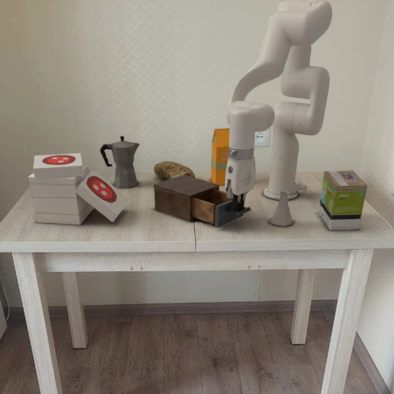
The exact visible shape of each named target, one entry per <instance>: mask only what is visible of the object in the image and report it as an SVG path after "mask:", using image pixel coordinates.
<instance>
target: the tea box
mask: <svg viewBox="0 0 394 394" xmlns="http://www.w3.org/2000/svg"><path fill="white" fill-rule="evenodd" d="M321 184H322V185H321V192H320V198H319V204H318V205H319V206H318V212H317V213H318V214H319V216H320V217H321V220H323V222H324V224H325V225H326V226H327V228H328V230H329V231H348V230H349V231H351V230H359V229H360V225H361V218H362V214H363V209H364V204H365V200H366V199H365V198H366V194H367V190H368V184H366V182H365V181H363V179H361V177H360V176H359V175H358V174H357V173H356V172H355V171H354V170H327V171H323V178H322V183H321Z"/></svg>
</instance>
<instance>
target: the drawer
mask: <svg viewBox="0 0 394 394" xmlns="http://www.w3.org/2000/svg"><path fill="white" fill-rule="evenodd" d="M245 202H246V199H245V200H244V205H245ZM251 211H252V208H251V207H250V206H247V207H246V206H244V209H243V210H241V211H239V212H236V211H233V201H232V199H230V198H227V192H226V191H223V190H220V189H219V190H217V189H214V190H211V191H209V192H206V193H203V194H201V195H198V196H195V197H193V198H192V217H195V218H197V219H196V220H201V221H204V222H206V223H209V224H212V225H214V227H215V228H217V229H218V228H221V227H223V226H225V225H228V224H229V223H230V224H231V222H234V221H236V220H238V219H241V218H243V217H244V216H245V214H246V213H249V212H251Z"/></svg>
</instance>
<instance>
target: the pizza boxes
mask: <svg viewBox="0 0 394 394" xmlns="http://www.w3.org/2000/svg"><path fill="white" fill-rule="evenodd" d="M33 157H34V158H33V159H34V160H33V168H32V169H33V173H31V174H29V176H27V179H28V184H29V188H30V194H31V200H32V204H33V209H34V214H35V219H36V223H40V224H41V223H42V224H43V223H44V224H59V225H60V224H61V225H77V226H80V225H82V224H83V222H84V221H85V220H86V219H87V217H88V216H89V215H90V214H91V213H92V211H93V210H94V209H95V210H96V211H98V212H99V213H100V214H101V215H103V216H104V217H105V218H106V219H108V220H109V221H110V222H111V223H114V221H115V220H116V219H117V217H118V216H119V215H120V213H121V212H122V210H123V209H124V208H125V206H127V205H126V204H127V203H128V202H129V201H130V199H129V198H128V197H127V196H126V195H124V193H122V192H121V191H119V190H118V189H117V187H116V186H113V184H111V183H110V182H109V181H108V180H106V179H105V178H104V177H103V176H102V175H101V174H99V173H98V172H97V171H96V170H92V171H91V172H90V168H89V164H83V161H82V154H81V152H75V153H58V154H57V153H56V154H55V153H54V154H40V155H38V154H37V155H34V156H33Z"/></svg>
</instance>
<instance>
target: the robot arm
mask: <svg viewBox="0 0 394 394" xmlns="http://www.w3.org/2000/svg"><path fill="white" fill-rule="evenodd" d="M331 4H332V3H330V2H329V1H328V0H282V1H281V2H279V3H278V4H277V5H276V9H275V12H273V14H272V15H271V16H270V18H269V19H268V22H267V25H266V28H265V31H264V35H263V38H262V41H261V44H260V48H259V51H258V55H257V57H256V61H255V63H254V64H253V65H252V66H251V67H250V68H249V69H247V70H246V72H244V73H243V75H242V76H241V77H239V79H238V80H237V82H236V83H235V85H234V87H233V89H232V92H231V95H230V98H229V102H228V105H227V110H226V121H227V123H228V125H229V128H230V135H229V157H228V158H229V159H228V162H227V168H226V176H225V185H224V192H227V198H230V199H232V201H233V211H236V212H239V211H241V210H243V209H244V207H245V204H244V200H245V201H246V197H247V194H248V193H249V192H251V191H252V190H253V189H254V188H255V187H256V177H257V176H256V170H257V169H256V158H255V142H256V133H263V132H266V131H268V130H269V129H271V127H272V142H271V143H272V144H271V156H270V165H269V166H270V167H269V177H268V187H266V188H265V189H264V190H263V195H264V196H265V197H267V198H269V199H273V200H279V201H280V192H281V191H287V192H290V193H289V196H288V201H289V200H294V199H295V198H297V197H298V196H299V195H298V194H299V193H298V192H299V191H308V185H307V184H303V183H297V182H296V175H297V167H298V159H299V153H300V144H299V139H298V138H297V135H303V136H317V135H318V134H319V133H320V132H321V131H322V128H323V124H324V119H325V114H326V108H327V102H328V96H329V92H330V91H329V90H330V83H331V82H330V79H331V78H330V72H329V70H328V69H326V68H325V67H323V66H314V65H311V57H312V56H311V55H312V45H313V44H315V43H316V42H317V41H318V40H319V39H321V38H322V37H323V35H324V34H325V33H327V31H328V30H329V28H330V26H331V23H332V20H333V6H332V5H331ZM279 77H281V79H280V92H281V94H282V95H283V96H285V97H289V98H293V99H294V98H295V99H302V100H309V103H304V102H296V101H282V102H279V103H277V104H276V105H275V106H274V108H273V106H272V105H270V104H268V103H264V102H263V103H262V102H254V101H247V100H246V98H247V96H248V95H249V94H250V93H251V91H253V90H254V89H255V88H258V87H259V86H261V85H263V84H266V83H268V82H271V81H273V80H275V79H278V78H279Z"/></svg>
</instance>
